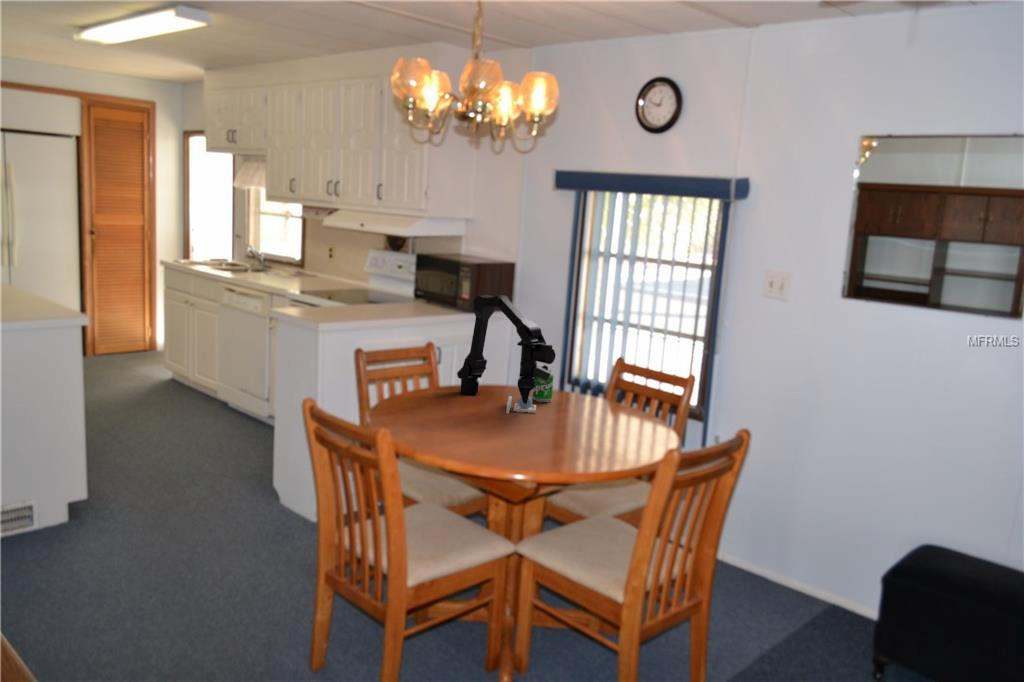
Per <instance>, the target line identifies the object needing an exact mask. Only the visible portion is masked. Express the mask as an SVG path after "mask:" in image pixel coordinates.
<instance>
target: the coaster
mask: <svg viewBox="0 0 1024 682" xmlns="http://www.w3.org/2000/svg"><path fill="white" fill-rule="evenodd" d="M514 411H517V412H516V413H524V412H528V413H527V414H536V413H537V412H536V411H537V404H532V405H531V407H530V408H528V409H523V408H521V407H520V405H519V402H516V403H514V407H513V412H514Z"/></svg>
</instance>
